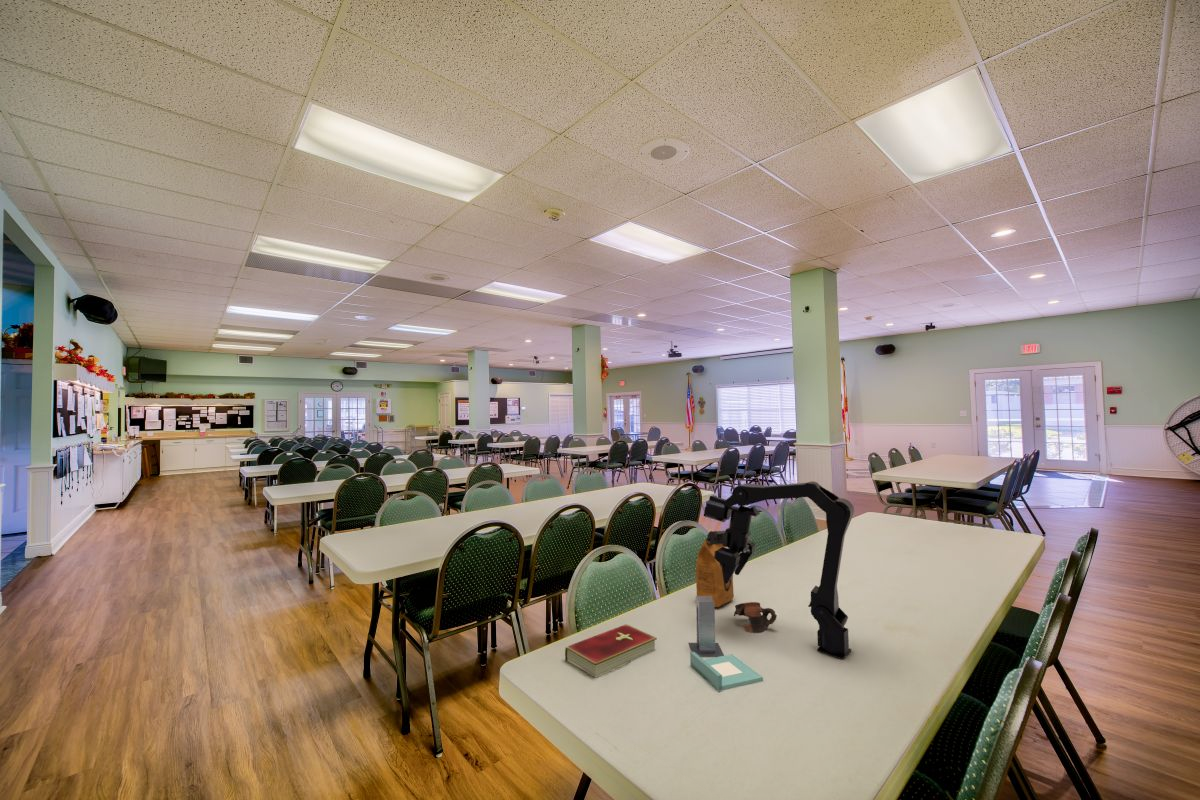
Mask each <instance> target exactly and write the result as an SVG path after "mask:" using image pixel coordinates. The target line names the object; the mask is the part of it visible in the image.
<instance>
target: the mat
mask: <svg viewBox="0 0 1200 800" xmlns="http://www.w3.org/2000/svg"><path fill="white" fill-rule="evenodd" d="M687 643H688V646H689V647H688V648H689V650H690V651H691V652H695V653H696V654H697V655H699V656H700V657H701V658H715V657H720V656H725V655H724V652H723V650H722V648H721V646H720V644H719V642H715V654H700V653H699V648H697V642H687Z"/></svg>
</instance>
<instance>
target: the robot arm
mask: <svg viewBox="0 0 1200 800" xmlns="http://www.w3.org/2000/svg"><path fill="white" fill-rule="evenodd" d="M708 498H709V499H708V500H707V503H706V505H705V506H704V517H705V518H708V519H710V520H715V521H718V522H722V523H725V522H726V521H729V525H728V528H727V527H726V528H725V530H714V531H713V530H711V531H709V532H708V533H707V537H706V539H707V540H708V541H709V544H710V545H713V544H723V546H724V547H722V548H720V549H718V550H717V551H715V554H714V558H715V559H716V560H717V561H718V562H719V563H720V564H721V567H722V573H723V580H724V583H726V584H727V583H728V582H729V580H730V579H731V577H732V575H733V576H734V575H736V576H738V575H740V573H741V572H742V570H743V569H744V567H745V565H746V564H747V563H748V562H749V560H750V559H751V557H752V556H753V555H754V553H755V552H756V548H757V547H756V546H757V544H755V542H754V541H753V540H749V536H751V535H752V531H750V528H751V523H752V517H757V516H759V515H760V511H759V510H758V509H757V507H756V505H753V506H751V507H748V505H752V504H756V503H760V502H762V501H768V500H783V499H797V498H808V499H810V500H811V501H812V502H813V503H814V504H815V505H816V506H817V507H818V508H819V509H821V511H823V512H824V513H825V520H826V530H827V537H826V545H825V552H824V556H823V557H824V558H823V564H822V569H821V577H820V584H819V586H817V585H814V587H813V588H812V589H811V591H810V602H809V604H808V605H807V607H808V608H810V615H812V617H813V619H814V620H815V621H817V624H818V630H817V633H816V634H817V647H818V648H816V649H817V650H816V651H817V652H819V653H820V654H824V655H828V656H830V657H834V658H837V659H841V660H844V659H845V658H846V657H847V656H848V655H849V654H850V653H851V652H852V648H849V646H850V645H849V644H850V643H849V628H847V627H845V626H846V624H847V621H848V619H849V617H848V615H847V614H846V613H845V612H844V611H843V609H841V607H840V606H839V604H840V603H839V602H840V601H839V592H838V579H839V573H840V567H841V560H842V557H843V547H844V542H845V536H846V533H847V530H848V529H849V526H850V524H851V521H852V518H853V515H854V513H855V508H854V507H855V506H854V505H853V504H852V502H851V501H850V500H848V499H846V498H844V497H843V498H841V497H839V496H837V495H836V494H835V493H833V492H831V491H829V490H828V489H826V488H825V487H823V486H822V485H820V484H819V483H818V482H817V481H812V480H811V481H808V482H798V483H785V484H774V485H772V484H771V485H764V484H757V483H744V484H741V485H740V484H739V485H737V486H734V489H732V492H731V495H730V496H729V497H728V498H726V499H725V498H722V497H719V496H717V495H713V494H712V495H710V496H709V497H708ZM736 505H738V506H739V507H738V506H736Z"/></svg>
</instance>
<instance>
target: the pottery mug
mask: <svg viewBox="0 0 1200 800" xmlns="http://www.w3.org/2000/svg"><path fill="white" fill-rule="evenodd" d="M734 607H735V611H734V613H733V617H735V616H737V615H738V616H741V617H742V616H744V617H747V618H748V620H749V623H746V624H744V625H743V628H744V630H745V632H747V633H750V634H752V633H764V632H765V631H766V628H769V627H770V625H772V624H774V623H775V621H776V619H777V614H776V611H775V610H774V609H773V608H770V607H766V608H763V607H761V603H760V602H757V601H749V602H742V603H741V602H740V603H738V604H736V605H735V606H734ZM769 614H770V615H771V617H770V619H768V616H769Z"/></svg>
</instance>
